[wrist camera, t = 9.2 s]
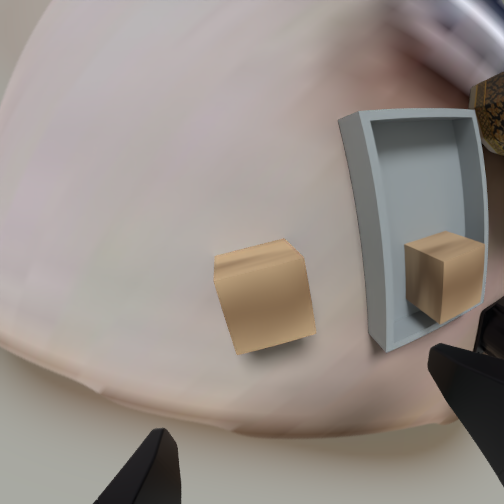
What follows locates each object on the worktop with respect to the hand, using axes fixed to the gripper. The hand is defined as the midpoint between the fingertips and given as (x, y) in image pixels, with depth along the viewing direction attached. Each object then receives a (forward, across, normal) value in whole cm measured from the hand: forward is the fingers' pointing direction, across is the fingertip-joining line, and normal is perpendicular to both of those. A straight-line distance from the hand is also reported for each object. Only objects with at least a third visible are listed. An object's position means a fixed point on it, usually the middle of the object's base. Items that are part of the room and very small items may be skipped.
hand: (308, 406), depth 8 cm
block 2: (+11, -13, +2) cm, 17 cm away
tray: (+11, -13, -1) cm, 17 cm away
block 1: (+12, 0, 0) cm, 12 cm away
